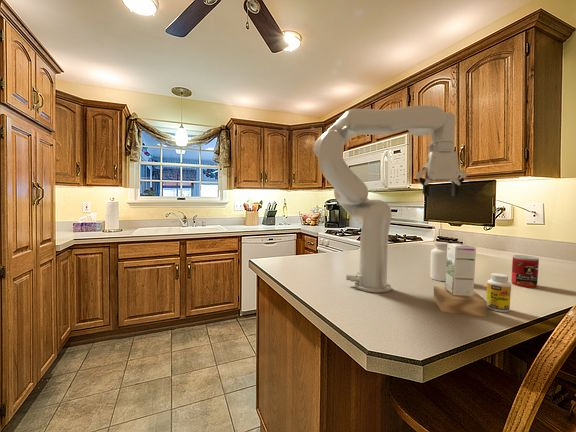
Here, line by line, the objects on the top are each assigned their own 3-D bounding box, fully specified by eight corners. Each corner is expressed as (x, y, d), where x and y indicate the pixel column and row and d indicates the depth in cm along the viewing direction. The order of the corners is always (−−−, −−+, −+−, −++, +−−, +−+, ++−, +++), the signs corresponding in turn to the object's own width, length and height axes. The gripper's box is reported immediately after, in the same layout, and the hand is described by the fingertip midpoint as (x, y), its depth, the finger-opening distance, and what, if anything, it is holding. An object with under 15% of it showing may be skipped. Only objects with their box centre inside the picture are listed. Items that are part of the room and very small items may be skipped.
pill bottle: (431, 275, 120) (433, 240, 119) (453, 278, 115) (454, 242, 114) (428, 279, 113) (429, 242, 112) (451, 283, 108) (452, 244, 108)
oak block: (441, 312, 80) (441, 297, 79) (433, 300, 90) (433, 286, 90) (486, 318, 76) (486, 301, 76) (472, 304, 87) (473, 290, 87)
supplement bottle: (486, 310, 81) (488, 275, 81) (485, 304, 86) (486, 271, 85) (511, 314, 78) (513, 278, 78) (508, 308, 83) (510, 274, 82)
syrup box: (474, 297, 80) (477, 246, 79) (452, 295, 81) (455, 245, 80) (464, 291, 85) (467, 243, 85) (443, 289, 86) (446, 242, 86)
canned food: (515, 286, 105) (517, 257, 105) (508, 281, 113) (509, 254, 112) (541, 289, 102) (543, 259, 102) (531, 283, 110) (533, 255, 109)
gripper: (420, 147, 99) (418, 195, 100) (473, 146, 97) (470, 196, 97) (413, 151, 106) (412, 196, 107) (462, 150, 104) (460, 197, 105)
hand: (440, 196), depth 102 cm, fingers open, 9 cm apart
